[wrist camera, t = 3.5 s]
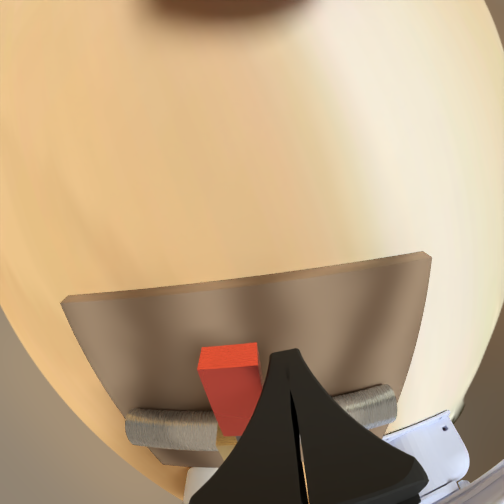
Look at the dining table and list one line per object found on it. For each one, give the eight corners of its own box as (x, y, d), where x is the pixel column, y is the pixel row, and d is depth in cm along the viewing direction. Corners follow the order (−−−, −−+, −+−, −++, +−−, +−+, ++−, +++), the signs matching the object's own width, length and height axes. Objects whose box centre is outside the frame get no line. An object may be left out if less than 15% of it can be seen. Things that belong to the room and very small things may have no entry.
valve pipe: (387, 368, 15) (409, 410, 12) (376, 406, 17) (392, 444, 13) (128, 394, 16) (112, 436, 12) (150, 427, 18) (140, 466, 14)
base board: (422, 251, 14) (431, 257, 13) (377, 436, 20) (379, 443, 20) (67, 295, 14) (60, 303, 13) (164, 457, 21) (162, 464, 20)
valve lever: (281, 465, 13) (282, 480, 12) (243, 468, 13) (243, 483, 12) (262, 341, 9) (264, 364, 8) (196, 347, 9) (191, 369, 8)
